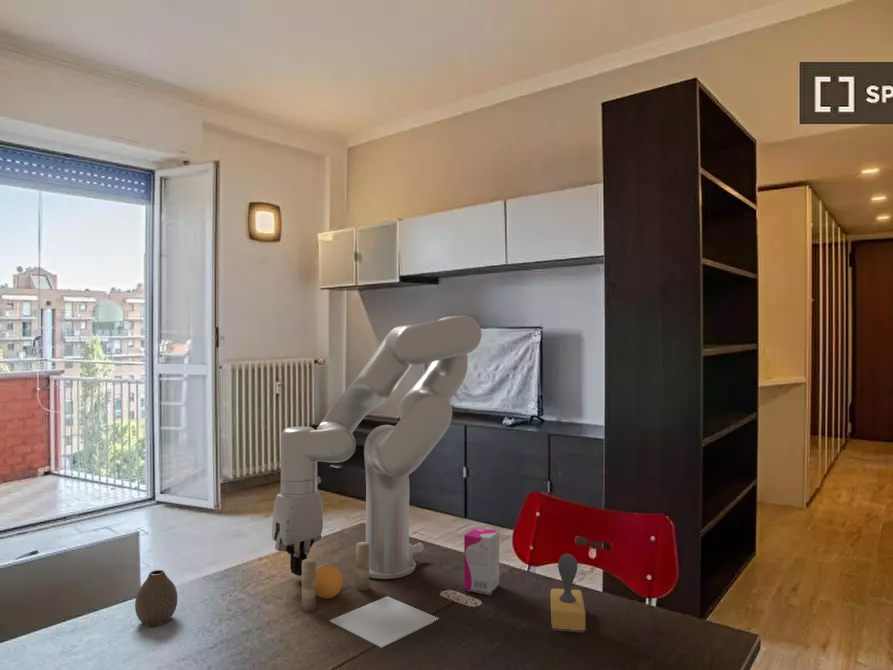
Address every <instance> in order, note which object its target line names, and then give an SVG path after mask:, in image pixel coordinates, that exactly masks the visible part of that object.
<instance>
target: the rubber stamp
mask: <svg viewBox="0 0 893 670" xmlns="http://www.w3.org/2000/svg"><path fill="white" fill-rule="evenodd" d="M557 569H558V573H559V575H560V579H561V581H562V584H563V585H562V586H563V588H552V589H550V620H551V621H550V623H551V624H552V625H551V629H552V628H555V629H556V628H559V629H571V630H585V631H586V610H585V604H584V597H583V592H582V590H580V589H572V586H573V582H574V580H575V578H576V575H577V571H578V561H577V559H576V557H575V556H574V555H573V554H571V553H564V554H562V555H561V556H560V558H559V560H558V563H557Z"/></svg>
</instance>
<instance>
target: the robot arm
mask: <svg viewBox="0 0 893 670" xmlns="http://www.w3.org/2000/svg"><path fill="white" fill-rule="evenodd" d="M481 340H482V329H481V326H480V324H479V322H477V320H475V319H474V318H472V317H470V316H468V315H461V314H460V315H452V316H443V317H442V318H439V319H437V320H434V321H430V322H424V323H418V324H408V325H407V324H406V325H399V326H396V327H394V328H392V329H391V330H390V331H389V332H388V333H387V335H386V336H385V337H384V339H383V340H382V341H381V342H380V344H379V346H378V347H377V349H376V350H375V351H374V353H373V354H372V355H371V357H370V359H369V360H368V362H367V363H366V364H365V366H364V367H363V368H362V370H360V373H358V375H357V377H356V378H355V379H354V380H353V381H352V382H351V383H350V384H349V385H348V387H347V389H346V390H344V391H343V393H342V394H341V395H340V396H339V398H338V399H336V401H335V402H334V403H333V405H332V406H331V407H330V409H329V410H328V412H327V413H326V415H325V416H324V418H323V419H322V420H321V421H320V423H319V425H318V426H317V428H316V429H315V428H314V427H311V426H291V427H286V428H284V429H283V430H282V432H281V434H280V492H279V493H278V494H276V497H275V501H274V505H273V514H272V522H271V523H272V525H271V539H272V540H273V541H274V542H275V546H274V550H275V551H278V552H286V553H287V554H288V555H290V557H289V558H290V560H289V561H290V563H289V564H290V568H289V569H290V571H291V572H290V573H292V574H294V575H296V576H297V577H300V576H301V577H302V561H303V560H304V559H308V555H309V553H310V549H311V548H312V546H313V545H314V544H315V543H317V542H319V541H320V540H322V534H323V529H324V518H323V517H324V516H323V505H322V498H321V493H320V490H319V489H318V485H319V484H320V483H321V482H322V479H321V477H320V476H318V462H324V463H336V464H337V463H342V462H346V461H347V460H349V459H350V458H351V457H352V456H353V455H354V454H355V452H356V447H357V442H356V441H357V440H356V438H355V436H354V434H353V433H354V431H355V430H356V429H357V427H358V426H359V424H360V423H361V422H362V420H364V419H365V417H366V416H367V415H368V414H369V413H370V412H371V411H373V410H374V409H376V408H379V407H380V406H383V404H385V403H386V402H387V401H388V400H389V399H390V398H391V397H392V396H393V394H394V392H395V391H396V390H397V388H398V386H399V385H400V384H401V382H402V381H403V379H404V378H405V376H406V375H407V374H408V372H409V371H410V369H411V368H412V367H413V365H414V366H415V365H423V364H427V363H430V364H429V365H428V367H427V369H426V370H425V371H424V373H423V374H422V375H420V376H421V377H419V379H418V380H417V381H416V382H415V383H414V385H413V386H412V387H411V389H410V390H408V392H407V393H406V394H405V395H404V397H403V398H402V399H401V400H400V402H399V404H398V410H397V412H398V417H399V420H398V422H397V423H396V424H395V425H392V424H383V425H380V426H377V427H375V428H373V429H372V430H371V431H370V432H369V434H368V435H367V437H366V439H365V442H364V446H363V447H364V448H363V456H364V457H363V458H364V468H365V483H366V484H365V486H366V487H365V488H366V489H365V490H366V491H365V492H366V494H365V495H366V496H365V502H366V503H365V542H368V543H369V579H370V578H371V579H378V580H391V579H392V580H393V579H398V578H399V579H400V578H403V577H406V575H407V576H409V575H411V574H412V573H414V572H415V570H416V569H415V568H417V563H416V561H415V559H414V558H413V556H414V555H415V554H417V553H420V552H423V551H424V547H425V546H424V544H423V543H422V542H418V543H415V544H412V543H411V542H410V478H409V477H410V474H412V473H413V472H415V471H416V469H418V467H420V465H421V464H422V463H423V462H424V461H425V459H426V458H427V456H428V455H429V454H430V453H431V452H432V450H433V449H434V448H435V447H436V445H437V444H438V443H439V442H440V440H441V439H442V437H444V435H445V434H446V433H447V431H448V429H449V427H450V425H451V423H452V419H453V408H452V405H451V403H450V401H451V400H452V399H453V397H454V395H455V394H456V393H457V392H458V390H459V389H460V388H461V386H462V384H463V382H464V380H465V378H466V375H467V371H468V365H469V364H468V361H469V360H468V354H470V353H472V352H474V351H475V350H476V349H477V348H478V346H479V345H480V343H481ZM413 571H414V572H413Z"/></svg>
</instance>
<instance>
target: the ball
mask: <svg viewBox="0 0 893 670" xmlns="http://www.w3.org/2000/svg"><path fill="white" fill-rule="evenodd" d="M343 586H344V578H343V574H342V572H341V571H340V570H339V569H338V568H337V567H335V566H333V565H324V566H322V567H320V568H319V569H316V596H318V597H320V598H321V599H325V600H326V599H331V598H334V597H335V596H337V595H338V594H339V593H340V592H341V589H343Z"/></svg>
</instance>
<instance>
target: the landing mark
mask: <svg viewBox="0 0 893 670" xmlns="http://www.w3.org/2000/svg"><path fill="white" fill-rule="evenodd" d="M438 619H439V620H440V618H439V617H437V616H434V615H432V614H430V613H427V612H426V611H423V610H421V609H418V608H415V607H413V606H411V605H408V604H407V603H404V602H402V601H400V600H396V599H394V598H392V597H390V596H384V597H382V598H380V599H378V600H375V601H373V602H370V603H367V604H366V605H363V606H361V607H358V608H356V609H353V610H351V611H348V612H345V613H343V614H342V615H339V616H337V617H334V618H332V619H330V620H329V619H328V620H329V623H332V624H334V625H335V626H338V627H339V628H342V629H343V630H345V631H348V632H350V633H351V634H353V635H355V636H357V637H359V638H361V639H363V640H364V641H366V642H369V643H370V644H373V645H374V646H377V647H379V648H380V649H382V648H384V647H387V646H388V645H391V644H392V643H394V642H396V641H399V640H401V639H403V638H405V637H406V636H409V635H410V634H414V633H415V632H417V631H419V630H421V629H423V628H426V627H427V626H429V625H431V624H433V623H435V622H436V620H437V621H439V620H438ZM434 621H435V622H434Z"/></svg>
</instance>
